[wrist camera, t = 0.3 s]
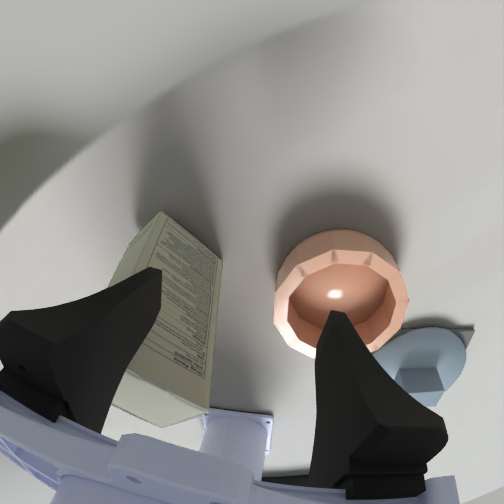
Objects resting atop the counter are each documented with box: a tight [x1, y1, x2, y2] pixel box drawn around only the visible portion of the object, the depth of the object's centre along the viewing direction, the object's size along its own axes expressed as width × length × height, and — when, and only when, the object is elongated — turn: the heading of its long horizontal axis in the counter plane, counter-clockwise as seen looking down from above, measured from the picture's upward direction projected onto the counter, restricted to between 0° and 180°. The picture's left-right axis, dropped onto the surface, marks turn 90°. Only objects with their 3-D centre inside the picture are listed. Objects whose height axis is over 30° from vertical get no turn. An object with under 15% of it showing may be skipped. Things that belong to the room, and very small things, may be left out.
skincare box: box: [108, 212, 223, 428], centre depth 18 cm, size 6×4×12 cm
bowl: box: [273, 229, 409, 359], centre depth 22 cm, size 9×9×3 cm
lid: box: [372, 327, 466, 407], centre depth 24 cm, size 11×11×4 cm
